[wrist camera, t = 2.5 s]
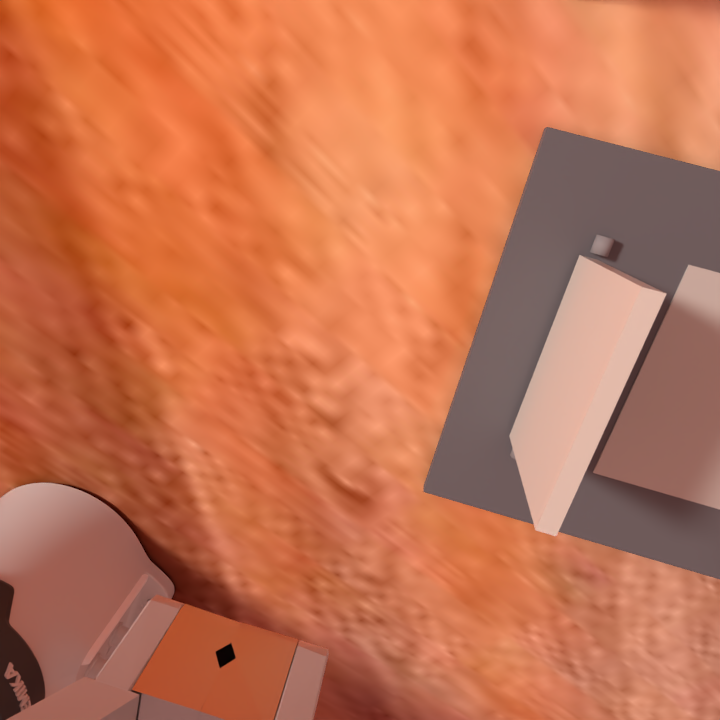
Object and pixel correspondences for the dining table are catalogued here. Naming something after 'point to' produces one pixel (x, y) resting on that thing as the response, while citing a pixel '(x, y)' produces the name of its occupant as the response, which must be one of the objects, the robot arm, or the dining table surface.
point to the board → (650, 372)
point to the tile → (579, 384)
